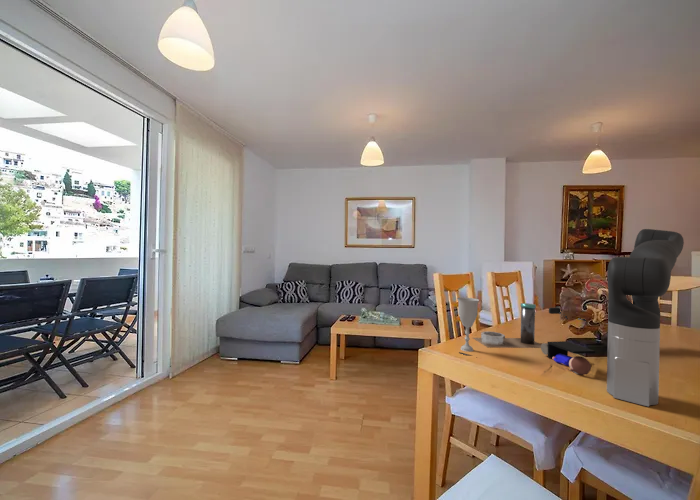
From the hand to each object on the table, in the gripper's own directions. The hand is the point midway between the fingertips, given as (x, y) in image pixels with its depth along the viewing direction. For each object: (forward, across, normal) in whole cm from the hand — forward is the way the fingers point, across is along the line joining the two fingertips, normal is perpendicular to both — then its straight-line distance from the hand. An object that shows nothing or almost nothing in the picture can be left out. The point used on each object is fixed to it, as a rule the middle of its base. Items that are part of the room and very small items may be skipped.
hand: (557, 313), depth 116 cm
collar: (+24, 0, +11) cm, 27 cm away
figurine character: (+13, +21, +12) cm, 27 cm away
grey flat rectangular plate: (+18, 0, +12) cm, 22 cm away
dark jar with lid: (+12, 0, +11) cm, 16 cm away
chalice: (+38, +9, +12) cm, 41 cm away
